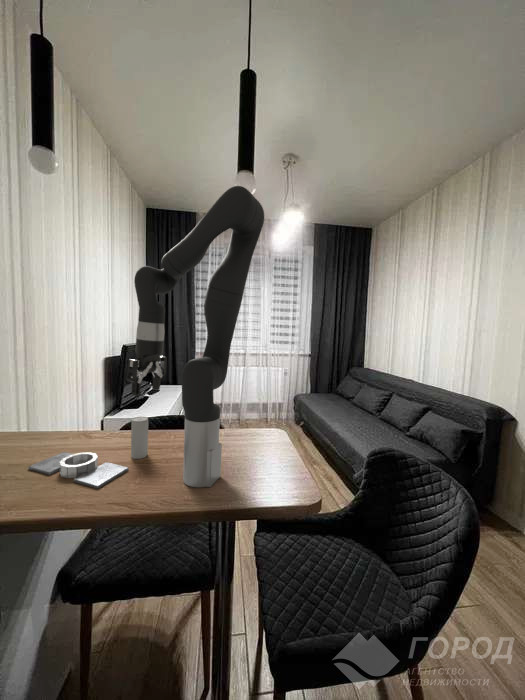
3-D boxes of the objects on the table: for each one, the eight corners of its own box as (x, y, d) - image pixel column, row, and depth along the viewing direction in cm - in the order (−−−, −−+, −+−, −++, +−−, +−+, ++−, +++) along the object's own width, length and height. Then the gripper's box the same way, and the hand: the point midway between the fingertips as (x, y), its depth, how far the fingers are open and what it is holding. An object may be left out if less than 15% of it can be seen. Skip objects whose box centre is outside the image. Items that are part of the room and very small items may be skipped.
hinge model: (128, 470, 79) (128, 459, 78) (97, 488, 69) (97, 477, 69) (64, 454, 86) (64, 444, 86) (28, 469, 77) (28, 458, 76)
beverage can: (127, 457, 86) (128, 419, 85) (140, 451, 91) (141, 415, 90) (138, 461, 84) (138, 422, 83) (151, 455, 88) (151, 418, 87)
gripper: (143, 340, 73) (139, 400, 75) (175, 339, 87) (171, 389, 89) (120, 337, 75) (117, 395, 77) (155, 336, 89) (152, 385, 91)
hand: (146, 392), depth 83 cm, fingers open, 8 cm apart
